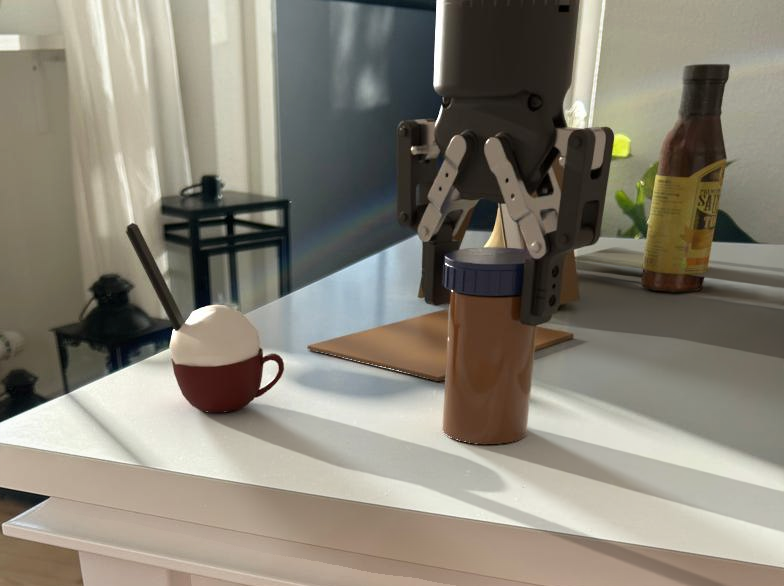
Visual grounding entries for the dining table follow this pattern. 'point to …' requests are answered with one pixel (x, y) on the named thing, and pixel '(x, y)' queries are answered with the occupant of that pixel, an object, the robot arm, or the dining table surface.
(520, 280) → the lid
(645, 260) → the sauce bottle
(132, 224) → the cocoa
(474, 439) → the jar
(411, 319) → the mat
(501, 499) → the dining table surface
